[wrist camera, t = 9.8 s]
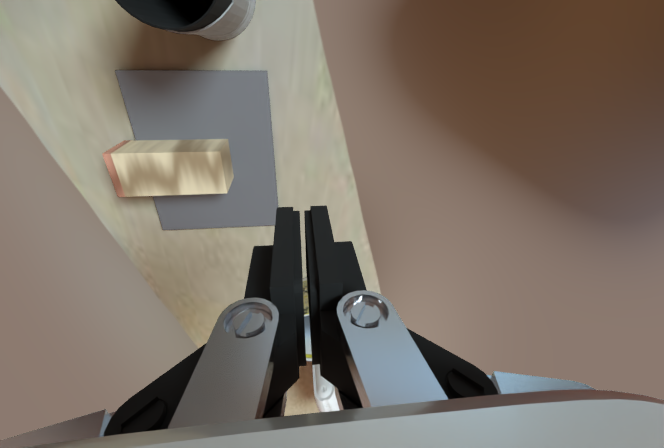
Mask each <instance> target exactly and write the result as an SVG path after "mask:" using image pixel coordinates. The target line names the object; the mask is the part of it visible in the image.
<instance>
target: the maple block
mask: <svg viewBox="0 0 664 448" xmlns="http://www.w3.org/2000/svg"><path fill="white" fill-rule="evenodd" d="M103 157H104V160H105V163H106V165H107V168H108V171H109V174H110V176H111V179H112V182H113V185H114V187H115V190H116V193H117V196H118V197H133V196H163V195H193V194H224V193H228V190H229V188H230V186H231V183H232V181H233V178H234V174H233V168H232V161H231V155H230V148H229V142H228V139H195V140H133V141H123V142H121V143H119V144H118V145H116V146H114V147H113V148H111V149H109V150H108V151H106V152H104V153H103Z"/></svg>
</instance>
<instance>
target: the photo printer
mask: <svg viewBox="0 0 664 448" xmlns="http://www.w3.org/2000/svg"><path fill="white" fill-rule="evenodd" d="M312 369H313V386H314V397H315V401H316V404H317V407H318V409H319V412H329V411H339V406H338V403H337V399H336V396H335V388H334V385H332V384H331V383H330V382H329V381H327V380H326V379H325V378H323V377H322V376H320V364H317V365H312Z"/></svg>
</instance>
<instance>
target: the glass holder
mask: <svg viewBox="0 0 664 448" xmlns="http://www.w3.org/2000/svg"><path fill="white" fill-rule="evenodd" d="M115 1H116V2H117V3H118V4H119V5H120V6H121V7H122V8H123V9H125V10H126V11H127V12H128V13H129V14H131V15H132V16H133V17H135V18H137V19H138V20H140V21H141V22H143V23H146V24H148V25H150V26H152V27H156V28H160V29H164V30H166V31H170V32H173V33H178V34H197V35H200V36H202V37H204V38H207V39H211V40H219V41H221V40H228V39H231V38H234V37H235V36H237V35H239V34H240V33H241V32H242V31H243V30H244V29H245V28H246V27H247V26H248V24H249V23H250V21H251V19H252V16H253V13H254V9H255V3H256V0H115Z"/></svg>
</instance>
